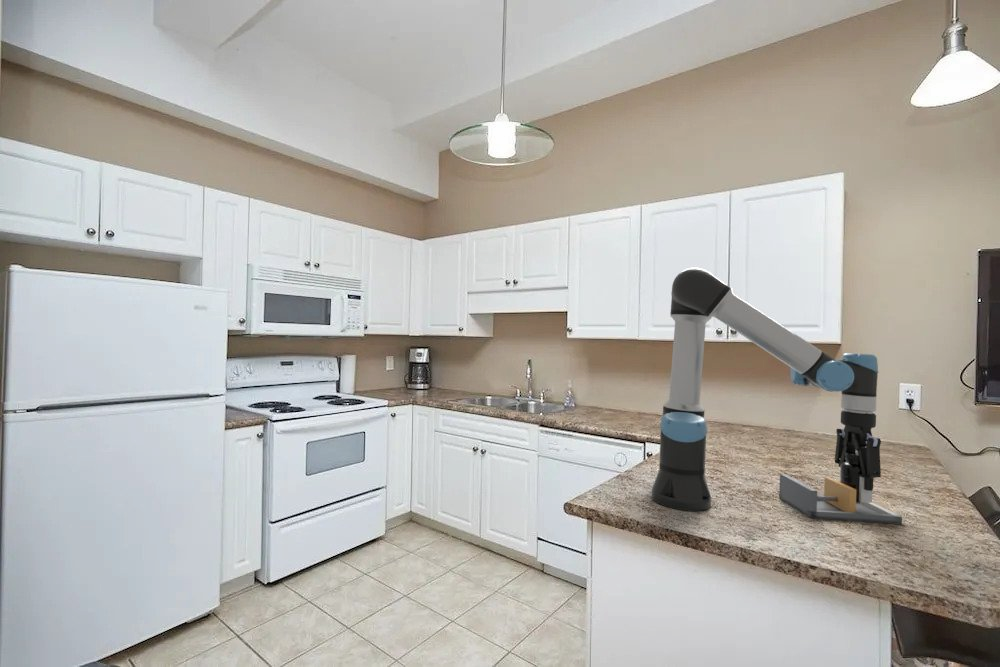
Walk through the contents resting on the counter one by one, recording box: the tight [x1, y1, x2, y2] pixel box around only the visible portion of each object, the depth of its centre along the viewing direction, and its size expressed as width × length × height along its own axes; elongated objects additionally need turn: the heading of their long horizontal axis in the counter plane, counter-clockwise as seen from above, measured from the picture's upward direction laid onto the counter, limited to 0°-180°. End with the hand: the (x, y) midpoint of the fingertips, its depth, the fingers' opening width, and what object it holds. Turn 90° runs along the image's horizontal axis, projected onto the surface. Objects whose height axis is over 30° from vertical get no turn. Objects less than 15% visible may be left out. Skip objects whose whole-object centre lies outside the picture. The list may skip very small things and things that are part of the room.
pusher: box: [817, 476, 856, 512], centre depth 126 cm, size 8×11×6 cm
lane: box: [778, 473, 903, 525], centre depth 125 cm, size 22×15×7 cm
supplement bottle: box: [839, 451, 862, 502], centre depth 125 cm, size 7×7×12 cm
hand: (855, 496), depth 125 cm, fingers closed on supplement bottle, 7 cm apart
